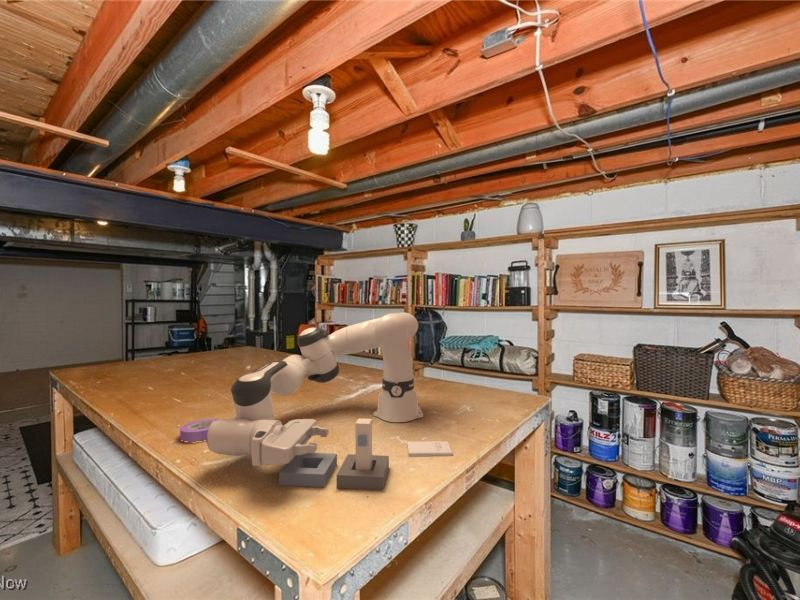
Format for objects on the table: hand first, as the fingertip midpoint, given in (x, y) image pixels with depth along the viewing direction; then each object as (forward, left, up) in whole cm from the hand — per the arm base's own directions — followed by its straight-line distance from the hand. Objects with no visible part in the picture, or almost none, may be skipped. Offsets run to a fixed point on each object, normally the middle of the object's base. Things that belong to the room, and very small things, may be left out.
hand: (322, 440), depth 88 cm
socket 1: (0, -3, -9) cm, 10 cm away
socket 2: (0, +11, -9) cm, 14 cm away
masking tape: (-21, -47, -9) cm, 53 cm away
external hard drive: (-17, +26, -10) cm, 33 cm away
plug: (0, +11, -9) cm, 14 cm away
